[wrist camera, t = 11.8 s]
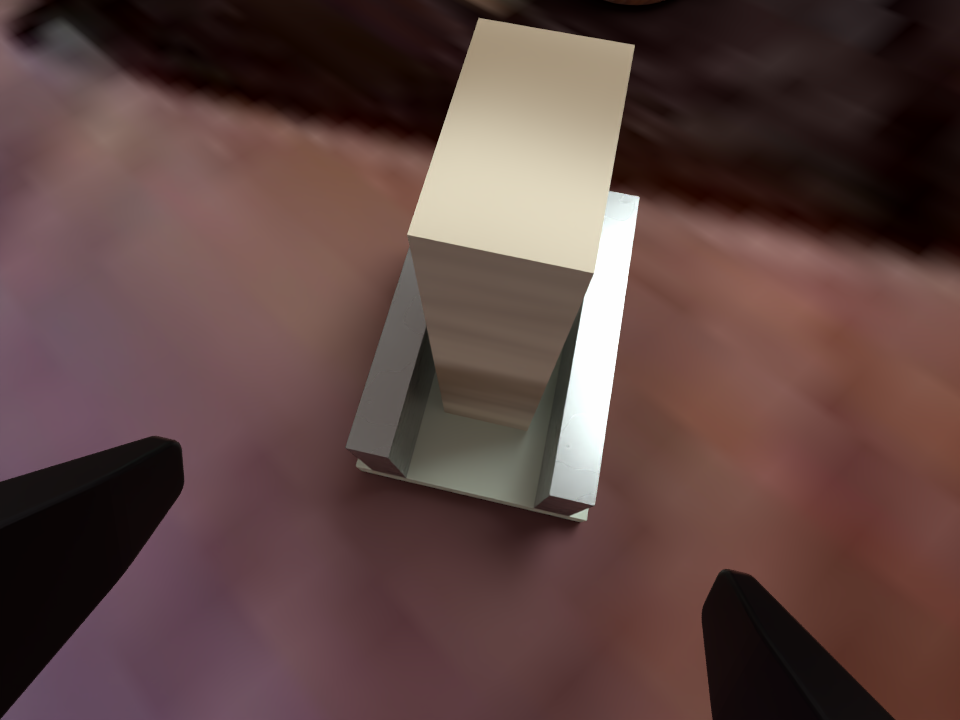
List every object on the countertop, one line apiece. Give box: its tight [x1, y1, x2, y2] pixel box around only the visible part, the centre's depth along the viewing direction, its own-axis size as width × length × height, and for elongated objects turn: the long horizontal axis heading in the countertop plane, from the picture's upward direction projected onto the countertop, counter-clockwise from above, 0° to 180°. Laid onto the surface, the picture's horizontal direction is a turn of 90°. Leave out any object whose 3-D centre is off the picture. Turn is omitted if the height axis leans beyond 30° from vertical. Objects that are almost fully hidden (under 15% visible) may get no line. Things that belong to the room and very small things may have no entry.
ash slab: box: [407, 18, 635, 431], centre depth 14 cm, size 5×3×11 cm, turn 167°
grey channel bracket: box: [345, 191, 639, 522], centre depth 18 cm, size 10×8×5 cm
